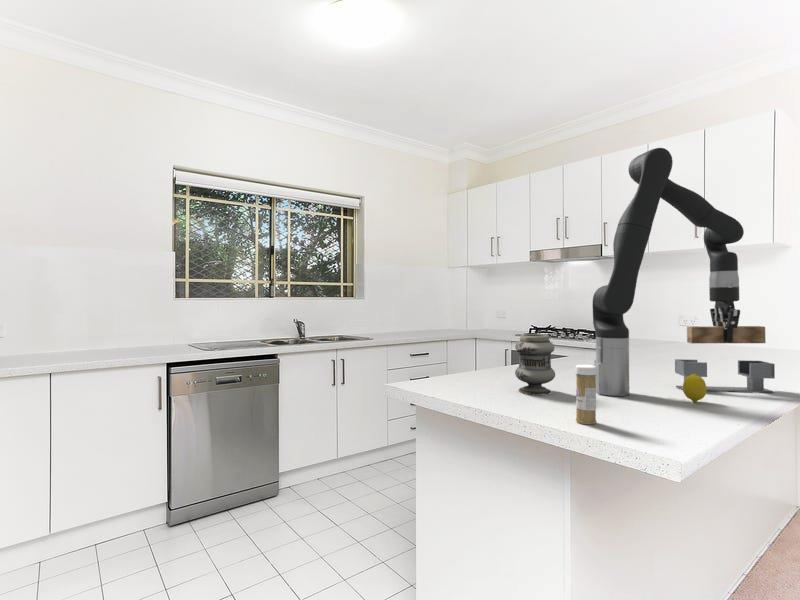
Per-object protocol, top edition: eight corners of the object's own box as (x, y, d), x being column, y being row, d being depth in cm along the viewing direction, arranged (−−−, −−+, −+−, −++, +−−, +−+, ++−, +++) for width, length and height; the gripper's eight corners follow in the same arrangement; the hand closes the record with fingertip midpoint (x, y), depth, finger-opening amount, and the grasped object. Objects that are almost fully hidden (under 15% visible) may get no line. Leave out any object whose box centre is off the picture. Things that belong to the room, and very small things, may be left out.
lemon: (699, 400, 127) (699, 372, 127) (710, 404, 121) (710, 375, 121) (678, 399, 127) (678, 371, 127) (689, 404, 122) (689, 375, 122)
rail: (691, 343, 139) (691, 327, 139) (687, 342, 142) (686, 326, 142) (765, 343, 135) (765, 326, 135) (758, 342, 138) (758, 326, 138)
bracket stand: (684, 391, 139) (683, 362, 139) (674, 386, 146) (674, 359, 146) (775, 393, 134) (775, 363, 134) (761, 389, 141) (760, 360, 141)
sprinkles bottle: (572, 420, 107) (571, 364, 107) (590, 419, 108) (590, 363, 108) (581, 425, 103) (581, 367, 103) (600, 424, 103) (600, 366, 103)
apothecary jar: (515, 395, 135) (515, 335, 135) (514, 387, 147) (514, 332, 147) (557, 396, 133) (557, 336, 133) (553, 388, 145) (552, 333, 145)
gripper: (700, 286, 146) (701, 339, 146) (721, 285, 132) (722, 343, 132) (726, 286, 145) (727, 339, 145) (750, 285, 131) (751, 343, 131)
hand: (724, 341), depth 139 cm, fingers closed on rail, 3 cm apart
